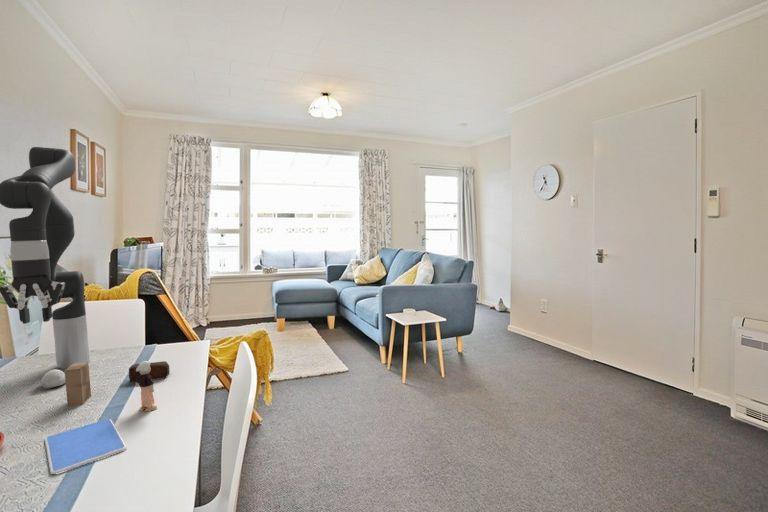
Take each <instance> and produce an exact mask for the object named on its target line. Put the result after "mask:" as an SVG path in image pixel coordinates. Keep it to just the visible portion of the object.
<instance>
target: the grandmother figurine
mask: <svg viewBox="0 0 768 512" xmlns="http://www.w3.org/2000/svg"><path fill="white" fill-rule="evenodd" d="M150 363H151V362H150V361H148V360H143V361H141V362H140V363H138V364H139V365H138V367H137V368H136V371H137V372H138V371H139V372H140V374H141V375H140V376H138V378H137V379H136V381H135V387H136V388H138V387H140V396H141V397H140V398H141V400H140V402H141V403H140V405H141V406H140V407H139V410H140V411H144V412H145V413H147V411H148V412H152V411H155V410H157V409H158V407H157V405H155V402H156V401H155V396H154V392H155V389H154V387H155V386H154V382H153V379H152V378H151V376H150V375H149V374H148V373H149V372H150V370H151V368H150ZM156 408H157V409H156ZM144 409H145V410H144ZM154 409H155V410H154ZM151 410H152V411H151Z"/></svg>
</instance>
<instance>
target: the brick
mask: <svg viewBox="0 0 768 512" xmlns="http://www.w3.org/2000/svg"><path fill="white" fill-rule="evenodd" d="M139 364H140V363H134V364H131V366H130V367H129V368H128V379H129V382H131V383H134V382H135V383H136V379H137V378H138V376H140V375H141V374H140V372H139V371H138V372H137V371H136V368H137V367H138V365H139ZM150 368H151V370H150V372H149V373H148V374H149V375H150V376H151V378H152V380H157V378H159V379H164V378H163V377H166V376H167V377H168V375H170V365H169V363H168V362H167V361H165V360H163V361H155V362H150ZM167 377H166V378H167Z"/></svg>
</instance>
